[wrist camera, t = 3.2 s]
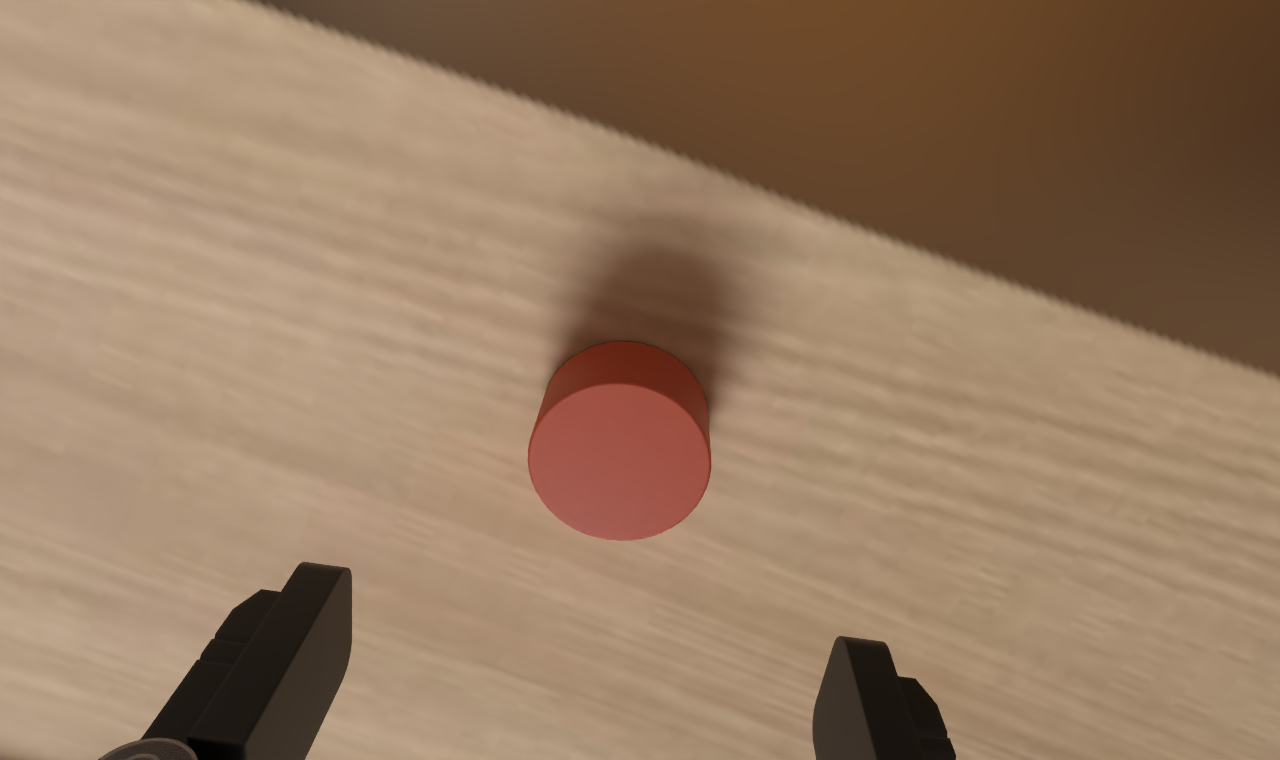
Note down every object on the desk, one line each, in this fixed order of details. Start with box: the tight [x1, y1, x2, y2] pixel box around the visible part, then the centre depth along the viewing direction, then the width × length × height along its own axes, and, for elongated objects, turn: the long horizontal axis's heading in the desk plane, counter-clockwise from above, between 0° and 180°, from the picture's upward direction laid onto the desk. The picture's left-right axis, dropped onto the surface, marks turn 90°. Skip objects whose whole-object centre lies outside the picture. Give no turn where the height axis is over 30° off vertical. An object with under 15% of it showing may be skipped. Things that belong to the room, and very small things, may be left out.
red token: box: [528, 342, 711, 541], centre depth 20 cm, size 4×4×2 cm
